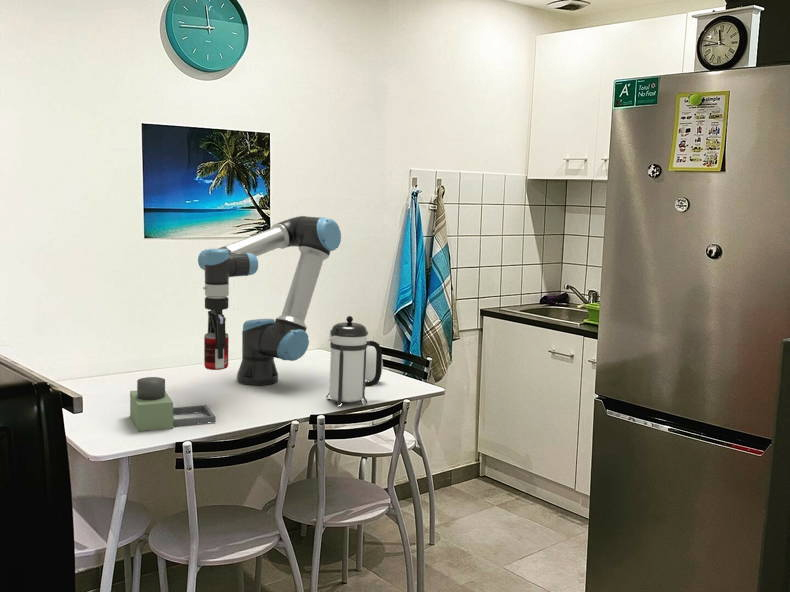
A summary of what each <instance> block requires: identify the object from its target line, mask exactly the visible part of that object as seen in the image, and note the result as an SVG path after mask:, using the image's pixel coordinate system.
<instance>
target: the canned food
mask: <svg viewBox="0 0 790 592" xmlns="http://www.w3.org/2000/svg"><path fill="white" fill-rule="evenodd" d="M203 337H204V338H203V340H204V341H203V342H204V343H203V346H204V347H203V348H204V349H203V350H204V351H203V352H204V354H203V357H204V358H203V359H204V360H203V361H204V365H203V366H204V368H205V369H206V370H209V371H210V370H211V371H221V370H225V369H227V368H228V366H229V333H227V332H226V348H224V368H218V369H216V368H215V349H214V347H216V337H215V333H208V332H207V333H205V334H204V336H203Z"/></svg>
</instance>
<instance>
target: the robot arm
mask: <svg viewBox="0 0 790 592" xmlns="http://www.w3.org/2000/svg"><path fill="white" fill-rule="evenodd" d="M341 231H342V230H340V226H339V224H338V223H337V222H336V221H335V220H334V219H332V218H326V217H322V216H321V217H315V216H305V215H301V216H300V215H299V216H295V217H291V218H288V219H285V220H282V221H280V222H277V223H274V224H273V225H271V227H270V228H269V229H266V230H264V231H262V232H259V233H256V234H253V235H251V236H248V237H245V238H243V239H240V240H237V241H234V242H232V243H230V244H226V245H225V246H221V247H219V248H218V247H217V248H209V249H207V248H206V249H203V250H201V251H200V253H199V255H198V257H197V263H198V267H200V269H201V270H202V271H204V286H203V288H202V289H203V290H204V296H205V297H204V309H206V310H208V311H207V317H208V318H207V333H215V337H216V347H214V349H215V368H216V369H218V368H224V348H226V333H227V332H226V320H227V319H226V317H225V315H224V314H223V310H224V311H225V310H227V309H229V297H228V296H229V294H230V293H229V289H230V287H229V286H230V285H229V284H230V282H229V281H230V279H229V278H234V277H236V278H237V277H248V276H253V275H254V274H256V273H257V272H258V270H259V259H258V257H259V256H261V255H263V254H266V253H269V252H271V251H274V250H276V249H282V250H284V249H286V248H290V247H298V251H299V252H300V256H299V258H298V262H297V265H296V269H295V272H294V274H293V277H292V281H291V284H290V288H289V290H288V293H287V296H286V300H285V302H284V306H283V309H282V312H281V315H279V316H278V317H275V319H274V318H257V319H248V320H246V321H244V322H243V324H242V333H241V335H242V337H241V338H242V339H241V340H242V343H241V344H242V345H241V346H242V348H241V352H242V353H241V354H242V359H241V363H240V365H239V368H238V371H237V373H236V381H237V382H238V383H240V384H243V385H248V386H265V385H266V386H267V384H268V385H272V383H273V384H275V382H276V383H278V381H279V373H278V369H277V367H276V363H275V358H276V359H280V360H282V361H290V362H293V361H298V360H299V359H301V358H302V357H303V356H305V354H306V352H307V350H308V347H309V345H310V344H309V343H310V340H309V335H308V333H307V332H306V331H307V328H308V326H307V325H306V324H305V320H306V318H307V314H308V311H309V308H310V304H311V302H312V298H313V294H314V292H315V288H316V287H317V286H316V285H317V282H318V278H319V275H320V273H321V269H322V266H323V262H324V261H325V260H327V259H329V257H330V255H331V252H333V251H335V250H336V249H338V248H339V247H340V245H341V241H342V233H341Z"/></svg>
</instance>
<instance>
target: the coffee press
mask: <svg viewBox="0 0 790 592" xmlns="http://www.w3.org/2000/svg"><path fill="white" fill-rule="evenodd" d="M353 321H354V318H353V316H351V315H349V316H347V317H346V321H345V322H338V323H336V324H334V325H333V326H332V328H331V329H330V331H329V332H330V333H329V335H328V337H327V342H329V341H330V342H329V343H330V345H329V347H330V362H329V363H330V364H329V366H330V367H329V392H328V394H327V395H326V396H325V398H326V397H328V398H331V399H332V400H334V401H337V402H336V406H337V405H340V404H341V403H343V404H344V403H354V402H360V403H361V402H362V401H363V400H364V403H365V404H366V403H367V404H368V400H367V398H366V396H365V395H366V394H365V390H366V388H369V387H373V386H375V385H377V384H378V383H379V382H380V379H381V376H382V374H381V368H382V362H383V352H382V351H383V350H382V347H381V345H380V344H379V343H378V342H376V341H375V340H374V341H373V340H367V338H368V337H367V336H368V335H369V332H368V329H367V327H366V326H365V325H363V324H362V323H358V322H353ZM369 346H374V347H375V349H376V374H375V377H374V379H373V380H372V381H369V382H367V381H366V379H365V371H366V350H367V348H368V347H369ZM362 399H363V400H362Z"/></svg>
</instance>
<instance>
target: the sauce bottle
mask: <svg viewBox="0 0 790 592" xmlns="http://www.w3.org/2000/svg"><path fill="white" fill-rule="evenodd" d="M372 341H374V342H375V336H372ZM383 367H384V362H383V361H382V368H381V375H382V372H383ZM375 374H376V349H375V347H374V346H367V348H366V371H365V381H366V382H367V381H372V380H373V379H374V377H375Z"/></svg>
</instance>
